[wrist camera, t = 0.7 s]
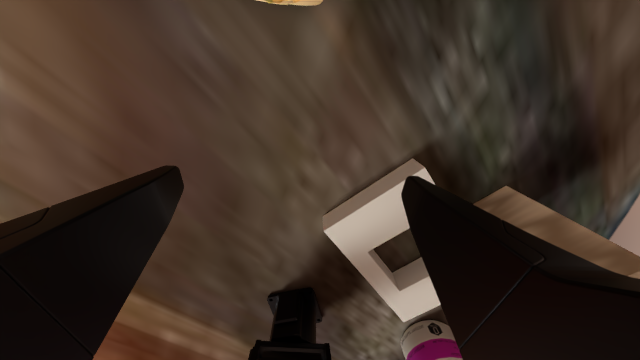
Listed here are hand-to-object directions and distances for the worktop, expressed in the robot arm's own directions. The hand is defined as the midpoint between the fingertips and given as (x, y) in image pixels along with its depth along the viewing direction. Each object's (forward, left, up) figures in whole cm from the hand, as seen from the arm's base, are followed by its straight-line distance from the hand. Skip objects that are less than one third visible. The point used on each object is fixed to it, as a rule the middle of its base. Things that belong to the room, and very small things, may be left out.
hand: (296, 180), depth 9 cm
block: (-15, -19, -15) cm, 29 cm away
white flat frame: (-17, -8, -15) cm, 24 cm away
